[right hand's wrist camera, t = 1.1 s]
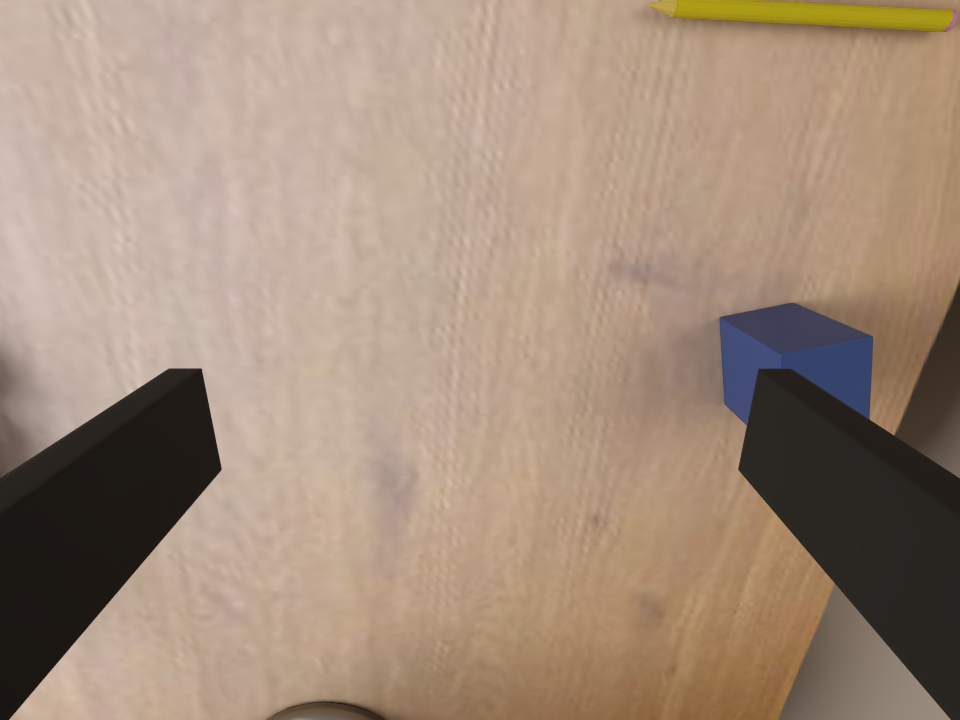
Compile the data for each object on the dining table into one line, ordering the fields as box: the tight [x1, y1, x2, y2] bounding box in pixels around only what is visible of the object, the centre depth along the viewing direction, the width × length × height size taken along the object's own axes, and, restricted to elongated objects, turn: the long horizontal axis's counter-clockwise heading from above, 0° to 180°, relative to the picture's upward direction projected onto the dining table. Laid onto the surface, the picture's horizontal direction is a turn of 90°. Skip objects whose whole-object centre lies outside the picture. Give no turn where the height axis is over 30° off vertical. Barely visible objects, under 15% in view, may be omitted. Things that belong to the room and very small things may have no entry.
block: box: [720, 303, 873, 425], centre depth 32 cm, size 5×6×7 cm
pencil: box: [647, 0, 958, 32], centre depth 28 cm, size 16×1×1 cm, turn 87°
